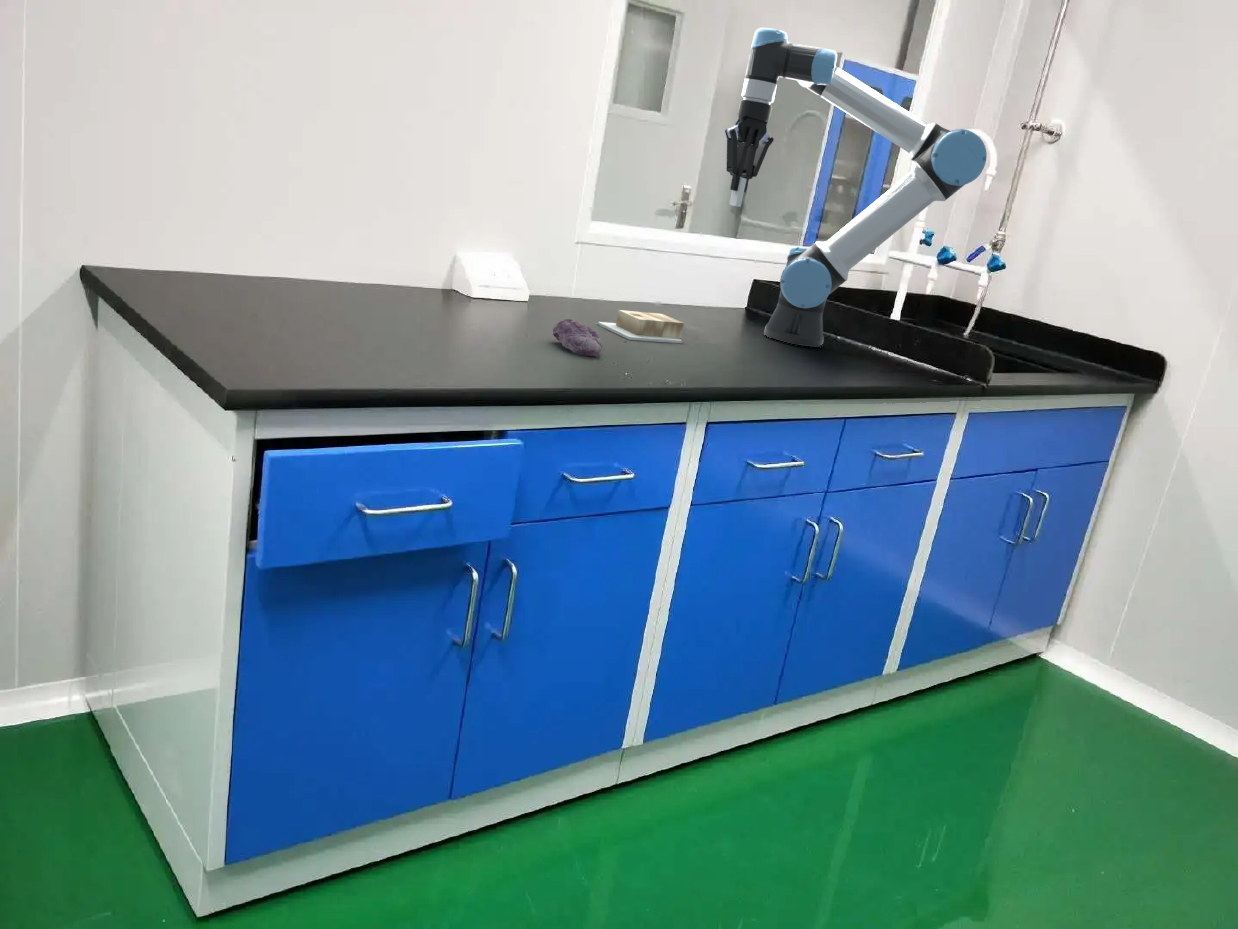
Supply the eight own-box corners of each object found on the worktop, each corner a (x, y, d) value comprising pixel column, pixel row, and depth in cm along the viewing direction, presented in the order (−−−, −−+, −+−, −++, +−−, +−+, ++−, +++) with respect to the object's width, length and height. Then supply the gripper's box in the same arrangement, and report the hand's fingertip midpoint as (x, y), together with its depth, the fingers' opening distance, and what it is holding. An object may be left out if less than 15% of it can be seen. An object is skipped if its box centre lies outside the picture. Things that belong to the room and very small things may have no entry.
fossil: (576, 342, 206) (581, 317, 205) (611, 360, 195) (616, 334, 193) (541, 339, 202) (546, 313, 200) (574, 358, 191) (579, 331, 189)
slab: (662, 313, 234) (618, 309, 227) (684, 322, 227) (639, 319, 220) (659, 328, 235) (615, 325, 228) (680, 338, 228) (636, 334, 221)
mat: (648, 328, 236) (649, 325, 236) (681, 343, 225) (682, 340, 225) (597, 324, 229) (597, 321, 229) (629, 339, 218) (629, 337, 217)
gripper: (768, 105, 238) (746, 206, 245) (724, 95, 231) (703, 199, 238) (788, 107, 232) (765, 211, 239) (744, 97, 225) (722, 204, 232)
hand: (734, 205), depth 239 cm, fingers closed
